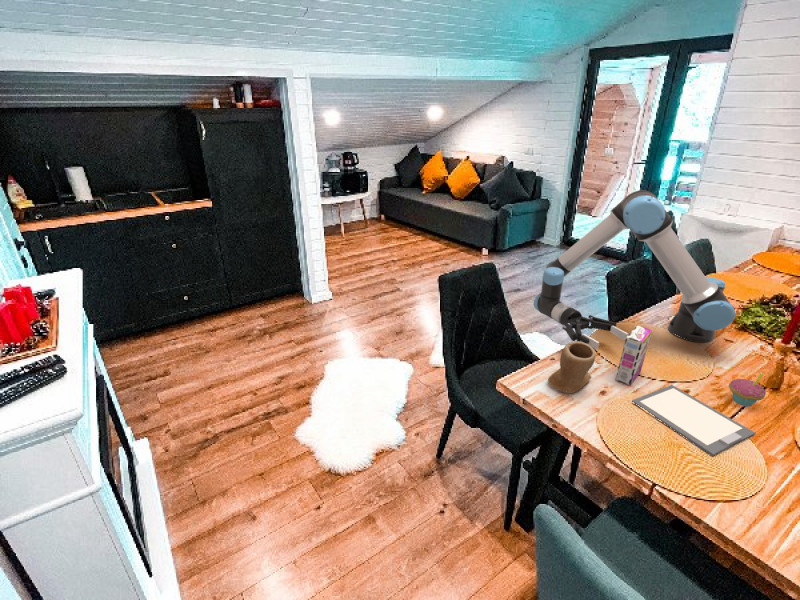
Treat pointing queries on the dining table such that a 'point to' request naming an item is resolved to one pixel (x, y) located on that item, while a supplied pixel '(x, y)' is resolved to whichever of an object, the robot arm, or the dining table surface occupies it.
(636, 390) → the dining table surface
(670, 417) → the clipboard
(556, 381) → the stone cup
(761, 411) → the dining table surface
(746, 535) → the dining table surface
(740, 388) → the cupcake
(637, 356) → the candy bar box
